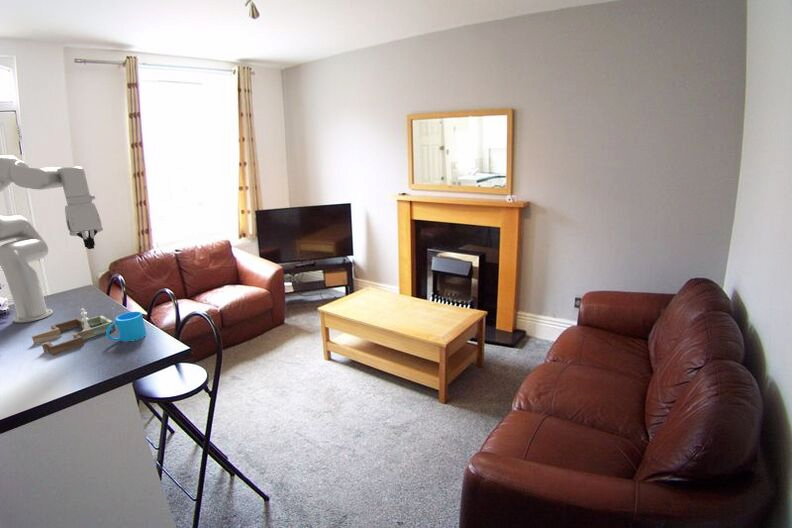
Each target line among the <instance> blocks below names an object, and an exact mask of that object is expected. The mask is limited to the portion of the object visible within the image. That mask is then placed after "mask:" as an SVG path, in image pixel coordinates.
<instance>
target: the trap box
mask: <svg viewBox="0 0 792 528" xmlns="http://www.w3.org/2000/svg"><path fill="white" fill-rule="evenodd" d="M82 319H83V318H80V317H76V318H72V319H69V320H66V321H63V322H59V323H57V324H53V325H50V327H51V328H50V329H51V330H47V331H43V332H41V333H38V334H34V335H32V336H31V338H32V342H33V344H34V345H38V344H41V346H42V350H43V353H44V354H46V353H47V352H48V353H50V355H52V356H57V355H59V354H62V353H64V352H65V353H66V352H67V351H70V350H73V349H77V348H79V347H82V346H85V344H84V340H87V339H91V338H93V336H94V337H96V335H97V336H100V335H103V334H106V333H105V332H106V330H107V328H108V327H109V326H110V325H111V324H112V323H114V322H115V321H113V320H111V319H109V318H107V317H106V316H104V315H102V314H100V315H97V316H93V317H91V318H89V319H88V320H87V322H88V324H89V327H90V329H87V330H84V321H82ZM100 323H102V324H100ZM97 324H98V325H97ZM93 325H95V327H94V326H93ZM77 326H78V327H79V328H80V329H82V328H83V330H84V331H83V330H82V331H79V332H74V333H72V339H69V340H66V341H63V342H61V343H57V344H55V345H54V344H52V342H50V340H53V339H57V338H60V337H62V332H64V331H68V330H71V329H74V327H75V328H78V327H77ZM91 326H92V327H91ZM114 329H115V330H116V324H115V325H114V326H112V328H111V329H110V330H112V331H115V330H114ZM102 333H103V334H102ZM99 334H100V335H99Z"/></svg>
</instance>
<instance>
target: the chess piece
mask: <svg viewBox="0 0 792 528" xmlns="http://www.w3.org/2000/svg"><path fill="white" fill-rule="evenodd" d="M80 311H81V313H80V316H81V317H82V318H81V319H82V321H84V329H83V330H82V331H84V330H87V329H90V328H91V327H89V324H88V322H87V320H88V319H90V318H89V317H87V316H88V311H86V309H85V308H84V307H81V309H80Z"/></svg>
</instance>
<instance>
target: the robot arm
mask: <svg viewBox="0 0 792 528" xmlns="http://www.w3.org/2000/svg"><path fill="white" fill-rule="evenodd" d="M84 169H85V168H83V167H82V166H61V165H60V166H59V165H58V166H48V167H47V166H45V167H29V166H28V164H26V162H24V160H23V161H22V160H20V159H19V158H17V157H16V156H14V155H12V154H6V153H4V154H3V153H2V154H0V192H3V191H4V190H5V189H6V188H8V186H10V185H11V184H12V183H13V184H15V185H17V186H18V187H20V188H25V189H32V190H49V189H56V188H62V189H63V192H64V196H65V200H66V204H67V205H64V213H65V221H66V227H67V229H68V231H69V236H72V237H79V238H81V239H82V240H83V245H84V247H85V248H86V249H88V250H93V249H95V246H96V244H95V239H94V238H95V237H96V235H97V234H98V233H100V232H102V231H103V230H104V227H103V226H102V220H101V217H100V213H99V212H98V209H97V207H96V205H95V203H94V202H93V200H96V196H94V195H91V193H90V189H89V185H88V181H87V176H86V173H85V170H84ZM86 232H87V234H86ZM11 240H13V241H11ZM7 241H10V242H7ZM3 242H6V243H3ZM0 243H3V244H2V245H0V268H1V269H2V271H3V272H2V273H3V275H4V277H5V279H6V282H7V286H8V288H9V292H10V295H11V298H12V301H13V302H12V303H13V305H14V308H15V311H16V314H17V315H15V316H14V317H13V322H15V323H18V324H20V323H21V324H23V323H31V322H35V321H39V320H42V319H45V318H47V317H49V316H51V315H52V314H53V313H54V311H53V309H51V308H47V305H46V301H45V297H44V294H43V290H42V286H41V283H40V280H39V277H38V274H37V271H36V270H35V269H34V268H33V267H31V265H30V263H31V262H32V263H33V262H35V261H38V260H42V259H43V258H45V257H46V256H48V254H49V247H48V244H47V242H46V241H45V240H44V238H43V237H42V236H41V235H40V234H39V232H38V231H37V230H36V228H35V227H34V226H33V224H32V223H31V222H30V221H29V220H28V219H27V218H25V217H24V216H22V215H19V214H8V215H1V214H0Z"/></svg>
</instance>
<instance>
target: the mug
mask: <svg viewBox="0 0 792 528" xmlns="http://www.w3.org/2000/svg"><path fill="white" fill-rule="evenodd" d="M113 322H114V323H112V324H111V325H110V326H109V327H108V328H107V330H106V333H105V335H106V338H108V339H109V340H111V341H121V342H122V341H132V340H136V339H139V340H141V339H143V338H145V337H146V336H145V335H147V331H146V327H145V322H144V318H143V313H142V312H141V311H129V312H124V313H122V314H120V315H118V316H115V321H113ZM114 325H115V326H116V328H117V331H118V335H119V337H113V336H112V335H110V332H111V331H110V329H111V328H112V326H114ZM144 336H145V337H144ZM142 337H143V338H142ZM140 338H141V339H140ZM136 341H137V340H136ZM132 342H133V341H132Z"/></svg>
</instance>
